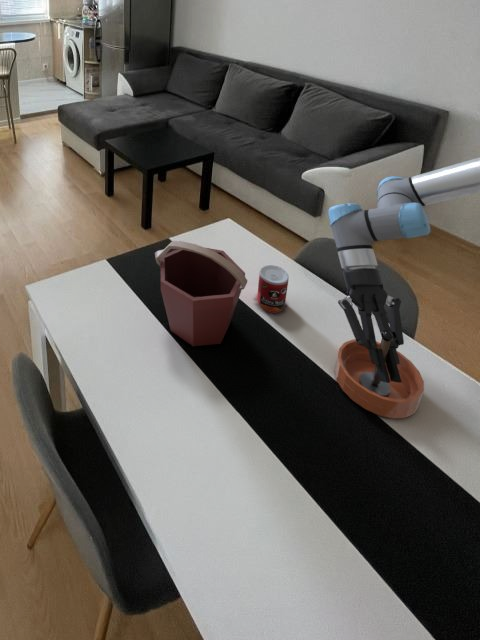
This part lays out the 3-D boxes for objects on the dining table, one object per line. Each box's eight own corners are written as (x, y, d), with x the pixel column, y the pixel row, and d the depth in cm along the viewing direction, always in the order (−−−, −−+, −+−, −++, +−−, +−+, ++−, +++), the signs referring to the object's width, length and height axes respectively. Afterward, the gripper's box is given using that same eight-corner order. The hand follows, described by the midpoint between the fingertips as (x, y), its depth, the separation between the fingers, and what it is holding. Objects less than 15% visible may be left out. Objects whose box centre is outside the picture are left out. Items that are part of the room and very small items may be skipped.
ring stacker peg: (385, 378, 101) (399, 324, 94) (393, 402, 95) (409, 346, 89) (356, 372, 103) (368, 319, 96) (362, 395, 97) (376, 340, 91)
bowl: (403, 364, 105) (408, 346, 103) (430, 429, 91) (436, 410, 89) (328, 350, 111) (331, 333, 108) (342, 409, 96) (346, 391, 94)
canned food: (257, 311, 124) (260, 281, 120) (255, 292, 131) (258, 263, 127) (286, 315, 122) (290, 285, 118) (282, 296, 129) (286, 266, 125)
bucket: (140, 319, 125) (138, 249, 115) (185, 281, 138) (187, 215, 129) (214, 372, 107) (219, 294, 98) (258, 322, 120) (265, 250, 111)
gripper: (382, 269, 105) (414, 378, 96) (321, 271, 106) (347, 379, 97) (401, 266, 98) (437, 383, 89) (335, 268, 99) (365, 384, 90)
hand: (390, 381), depth 93 cm, fingers closed on ring stacker peg, 2 cm apart
